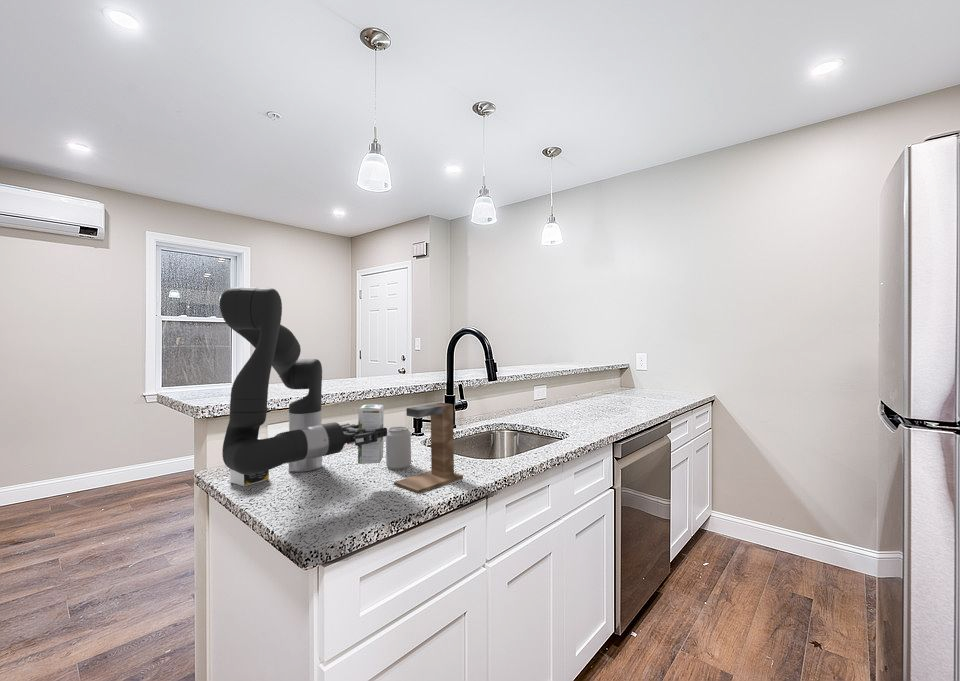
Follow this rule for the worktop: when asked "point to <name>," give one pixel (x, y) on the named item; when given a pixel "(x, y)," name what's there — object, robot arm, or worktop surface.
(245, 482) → the medicine bottle
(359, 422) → the syrup box
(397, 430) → the can
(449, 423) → the keeper bracket
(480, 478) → the worktop surface
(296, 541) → the worktop surface
